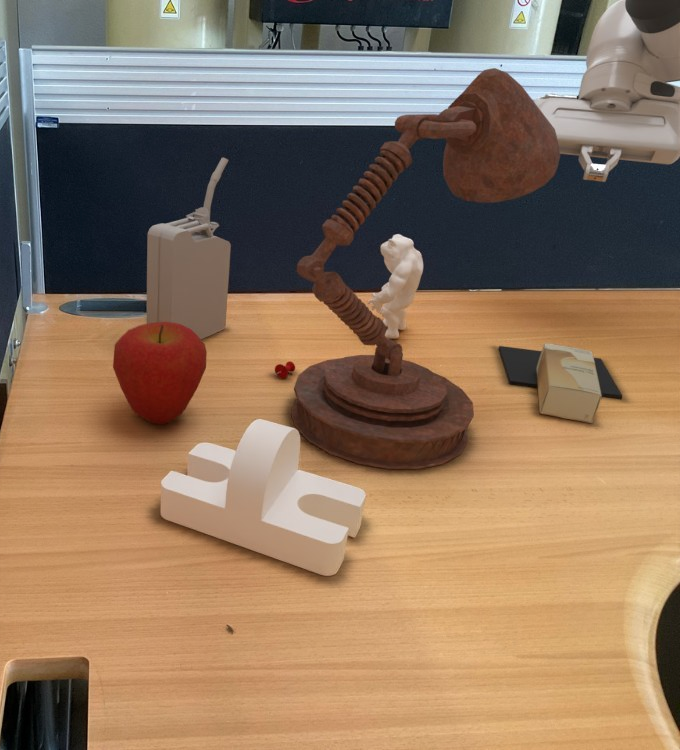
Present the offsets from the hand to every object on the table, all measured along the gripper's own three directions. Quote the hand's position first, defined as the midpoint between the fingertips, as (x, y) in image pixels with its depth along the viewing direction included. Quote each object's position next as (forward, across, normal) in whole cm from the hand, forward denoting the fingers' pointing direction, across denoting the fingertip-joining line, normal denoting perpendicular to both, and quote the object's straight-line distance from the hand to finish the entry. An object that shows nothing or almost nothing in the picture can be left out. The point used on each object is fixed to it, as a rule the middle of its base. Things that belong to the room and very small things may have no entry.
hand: (595, 178), depth 108 cm
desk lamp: (+45, -18, -10) cm, 50 cm away
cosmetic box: (+27, +1, +4) cm, 27 cm away
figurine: (+26, -23, +9) cm, 36 cm away
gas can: (+36, -50, -1) cm, 62 cm away
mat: (+27, +1, +7) cm, 28 cm away
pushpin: (+42, -34, -7) cm, 54 cm away
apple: (+54, -44, -19) cm, 72 cm away
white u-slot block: (+63, -26, -29) cm, 74 cm away
